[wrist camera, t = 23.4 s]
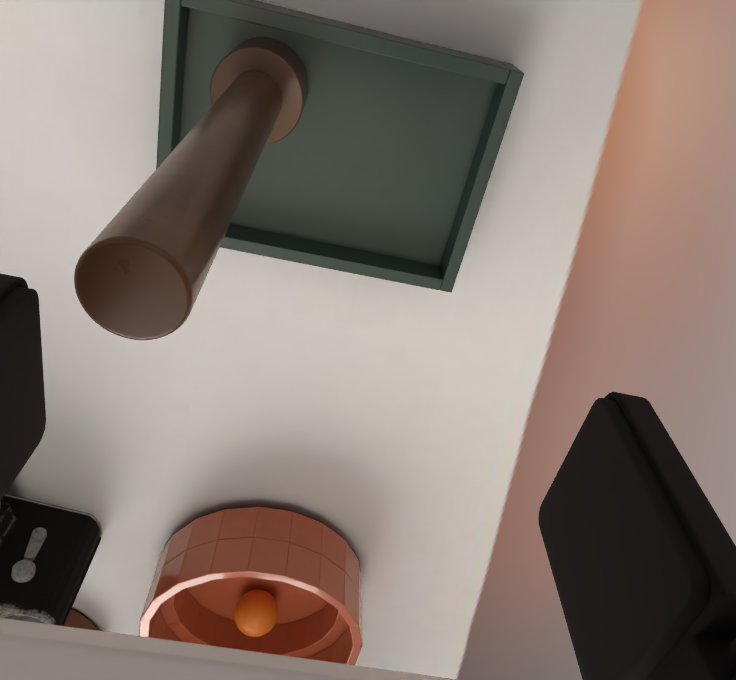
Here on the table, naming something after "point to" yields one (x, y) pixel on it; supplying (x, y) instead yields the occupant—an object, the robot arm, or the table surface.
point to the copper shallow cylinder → (259, 585)
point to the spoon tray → (350, 140)
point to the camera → (43, 559)
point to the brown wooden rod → (191, 197)
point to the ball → (256, 613)
